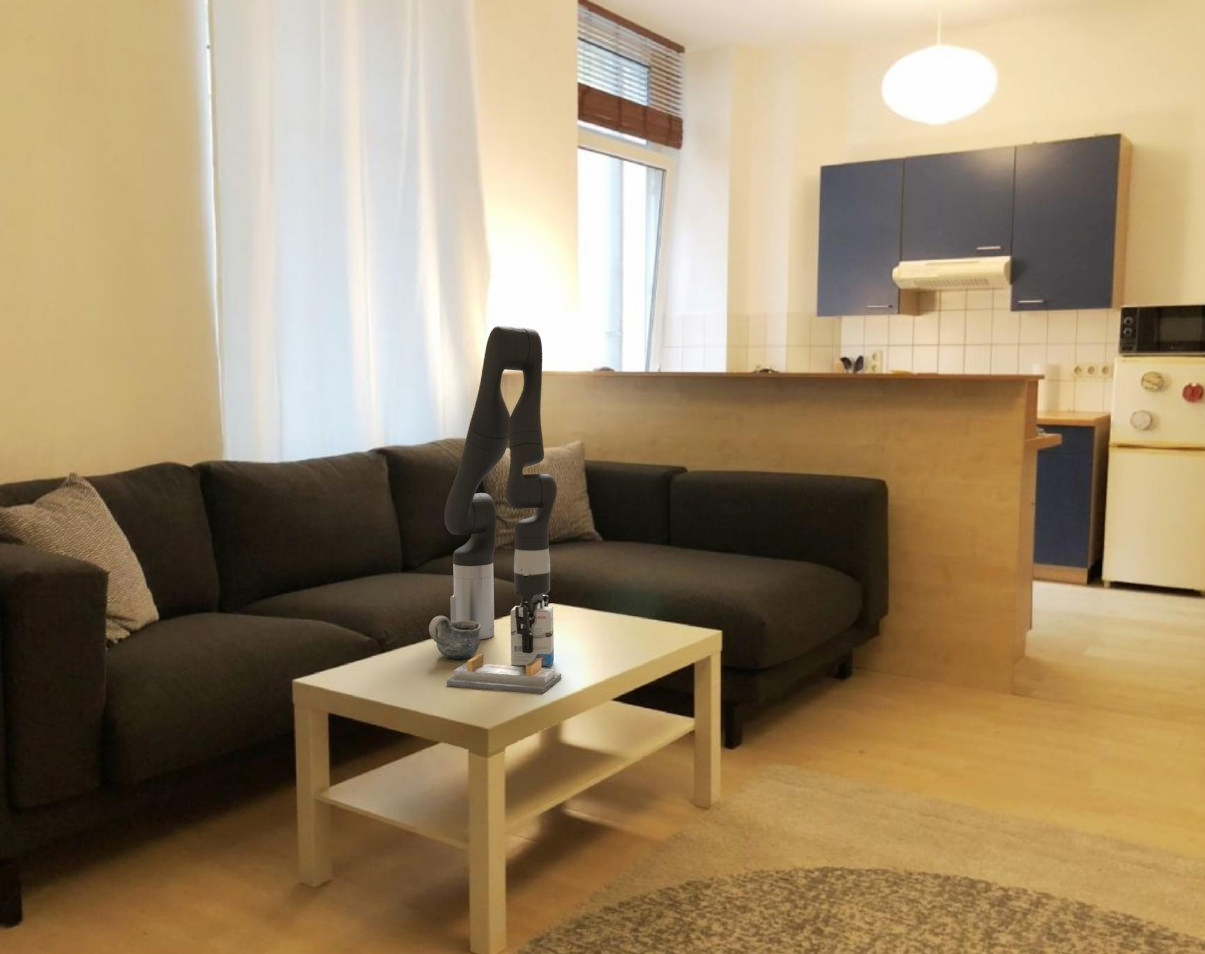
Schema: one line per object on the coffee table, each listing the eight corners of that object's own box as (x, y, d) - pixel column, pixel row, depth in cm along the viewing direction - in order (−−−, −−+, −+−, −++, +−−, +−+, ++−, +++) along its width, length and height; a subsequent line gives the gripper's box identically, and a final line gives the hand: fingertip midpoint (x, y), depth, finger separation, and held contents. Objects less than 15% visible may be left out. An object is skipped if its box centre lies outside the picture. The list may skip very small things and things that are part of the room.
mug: (490, 654, 242) (489, 609, 241) (456, 668, 231) (455, 621, 230) (453, 649, 246) (452, 605, 245) (418, 662, 235) (417, 616, 235)
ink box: (554, 660, 236) (554, 605, 234) (551, 666, 231) (550, 610, 230) (514, 659, 237) (514, 604, 235) (510, 665, 232) (510, 609, 230)
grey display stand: (446, 685, 218) (446, 663, 218) (469, 671, 229) (468, 649, 228) (542, 693, 212) (542, 670, 212) (561, 678, 223) (561, 656, 222)
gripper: (527, 562, 240) (528, 639, 241) (502, 574, 226) (503, 656, 228) (560, 564, 237) (560, 642, 239) (537, 576, 224) (537, 659, 225)
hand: (532, 648), depth 233 cm, fingers closed on ink box, 5 cm apart
